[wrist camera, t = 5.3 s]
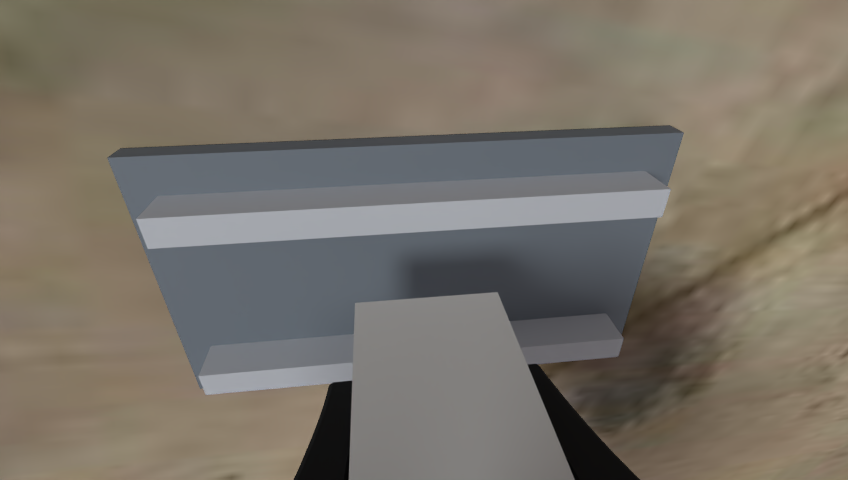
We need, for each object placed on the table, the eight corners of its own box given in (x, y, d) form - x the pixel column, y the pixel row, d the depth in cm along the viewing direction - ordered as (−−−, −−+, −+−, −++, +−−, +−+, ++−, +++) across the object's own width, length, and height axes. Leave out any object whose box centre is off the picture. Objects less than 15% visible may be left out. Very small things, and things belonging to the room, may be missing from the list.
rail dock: (608, 337, 20) (633, 376, 18) (206, 373, 19) (187, 420, 17) (669, 125, 15) (714, 147, 13) (120, 148, 14) (78, 178, 12)
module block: (487, 387, 14) (556, 624, 9) (366, 399, 14) (365, 653, 9) (497, 292, 12) (594, 526, 7) (355, 302, 12) (346, 559, 7)
